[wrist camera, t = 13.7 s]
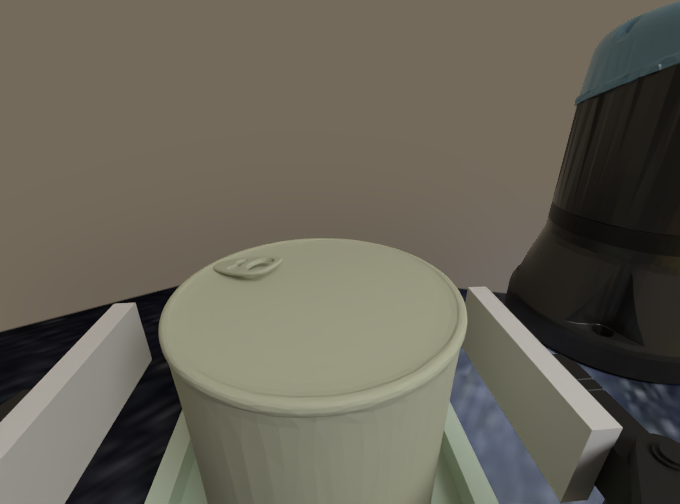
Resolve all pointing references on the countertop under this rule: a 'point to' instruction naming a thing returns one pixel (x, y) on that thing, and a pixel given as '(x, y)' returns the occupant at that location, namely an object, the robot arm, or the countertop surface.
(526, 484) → the countertop surface
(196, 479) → the tray
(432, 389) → the can
